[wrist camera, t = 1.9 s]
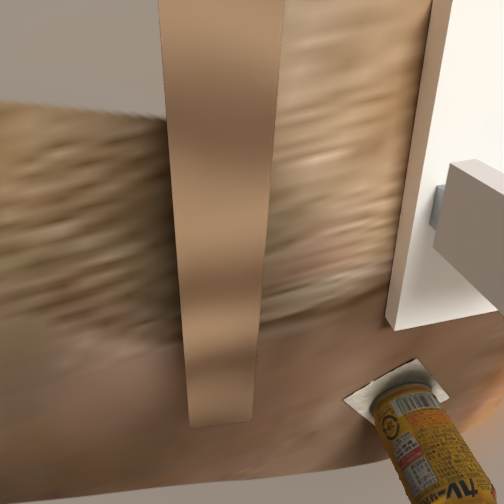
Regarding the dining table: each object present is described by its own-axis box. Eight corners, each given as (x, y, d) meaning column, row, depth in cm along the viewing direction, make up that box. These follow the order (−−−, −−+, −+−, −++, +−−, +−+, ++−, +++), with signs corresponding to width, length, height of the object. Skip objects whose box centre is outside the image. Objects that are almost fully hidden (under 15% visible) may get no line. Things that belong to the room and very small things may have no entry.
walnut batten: (159, -35, 15) (154, -43, 11) (257, -28, 16) (287, -34, 12) (187, 366, 29) (189, 429, 25) (240, 361, 29) (251, 421, 25)
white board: (433, -3, 17) (453, -2, 16) (650, -29, 18) (684, -30, 17) (384, 316, 29) (394, 331, 28) (520, 290, 30) (534, 302, 29)
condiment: (382, 431, 39) (454, 581, 29) (342, 398, 34) (411, 563, 24) (448, 395, 37) (548, 542, 27) (415, 355, 32) (520, 514, 23)
